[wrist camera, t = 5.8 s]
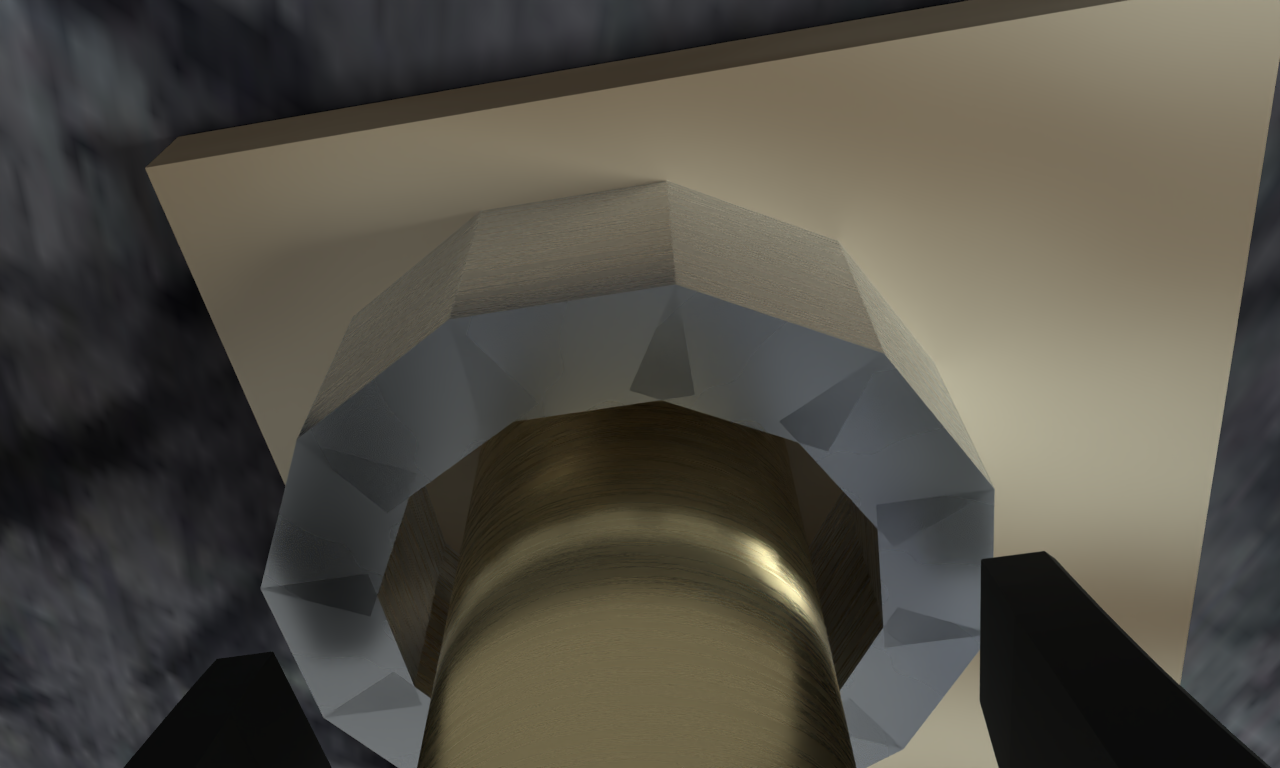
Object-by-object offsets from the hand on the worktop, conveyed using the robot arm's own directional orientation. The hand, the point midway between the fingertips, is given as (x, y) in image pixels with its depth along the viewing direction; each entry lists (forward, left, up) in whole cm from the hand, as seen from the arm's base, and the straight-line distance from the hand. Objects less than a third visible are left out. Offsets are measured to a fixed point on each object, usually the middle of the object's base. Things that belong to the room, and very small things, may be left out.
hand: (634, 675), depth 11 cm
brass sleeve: (0, 0, -3) cm, 3 cm away
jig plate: (-3, -2, -4) cm, 6 cm away
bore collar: (0, 0, -4) cm, 4 cm away
